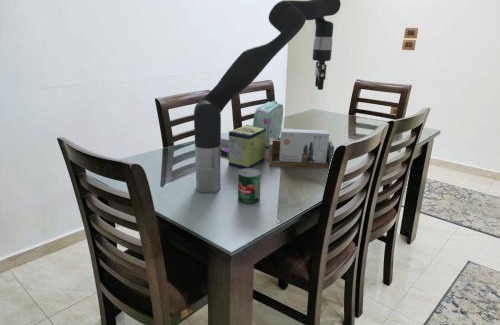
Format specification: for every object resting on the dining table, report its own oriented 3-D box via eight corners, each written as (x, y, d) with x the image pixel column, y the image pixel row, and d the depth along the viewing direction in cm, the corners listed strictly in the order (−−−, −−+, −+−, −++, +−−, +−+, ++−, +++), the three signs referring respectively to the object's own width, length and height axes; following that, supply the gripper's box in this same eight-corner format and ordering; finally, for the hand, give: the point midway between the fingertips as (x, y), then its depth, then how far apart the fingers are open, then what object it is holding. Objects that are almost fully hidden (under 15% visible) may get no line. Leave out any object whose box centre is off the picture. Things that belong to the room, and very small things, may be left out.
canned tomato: (260, 196, 131) (261, 168, 127) (259, 206, 124) (260, 176, 120) (238, 195, 131) (238, 167, 127) (237, 205, 124) (237, 175, 120)
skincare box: (279, 165, 161) (281, 131, 155) (278, 161, 166) (280, 128, 160) (326, 167, 160) (329, 133, 154) (324, 163, 165) (327, 129, 159)
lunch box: (265, 134, 207) (266, 97, 199) (282, 136, 204) (284, 99, 196) (250, 147, 183) (251, 106, 176) (269, 150, 180) (271, 108, 173)
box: (200, 150, 180) (229, 159, 168) (200, 144, 179) (229, 152, 167) (220, 144, 190) (248, 151, 178) (219, 137, 189) (248, 144, 177)
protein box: (265, 160, 167) (266, 127, 161) (248, 170, 154) (248, 135, 149) (246, 155, 172) (246, 124, 166) (228, 165, 159) (228, 131, 154)
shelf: (331, 168, 158) (334, 147, 155) (268, 166, 159) (269, 144, 156) (328, 160, 168) (330, 139, 165) (268, 157, 170) (269, 137, 166)
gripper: (334, 49, 141) (330, 91, 147) (329, 47, 154) (325, 85, 160) (315, 49, 141) (311, 90, 147) (311, 47, 155) (308, 85, 160)
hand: (318, 88), depth 153 cm, fingers open, 8 cm apart
